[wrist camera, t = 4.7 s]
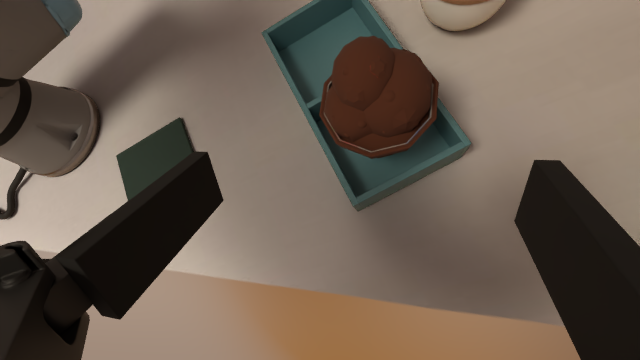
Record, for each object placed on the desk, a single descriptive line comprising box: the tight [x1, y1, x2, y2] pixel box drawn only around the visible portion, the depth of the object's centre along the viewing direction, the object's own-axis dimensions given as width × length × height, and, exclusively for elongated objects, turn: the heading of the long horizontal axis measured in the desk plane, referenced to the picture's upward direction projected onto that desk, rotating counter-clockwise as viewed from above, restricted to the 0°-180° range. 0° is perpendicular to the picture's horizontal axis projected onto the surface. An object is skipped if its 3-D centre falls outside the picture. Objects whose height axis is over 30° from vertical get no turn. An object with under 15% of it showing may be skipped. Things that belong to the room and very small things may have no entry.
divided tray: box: [262, 0, 471, 211], centre depth 36 cm, size 14×26×5 cm, turn 26°
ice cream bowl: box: [319, 36, 439, 159], centre depth 29 cm, size 11×11×15 cm
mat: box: [117, 118, 194, 201], centre depth 43 cm, size 12×12×1 cm
